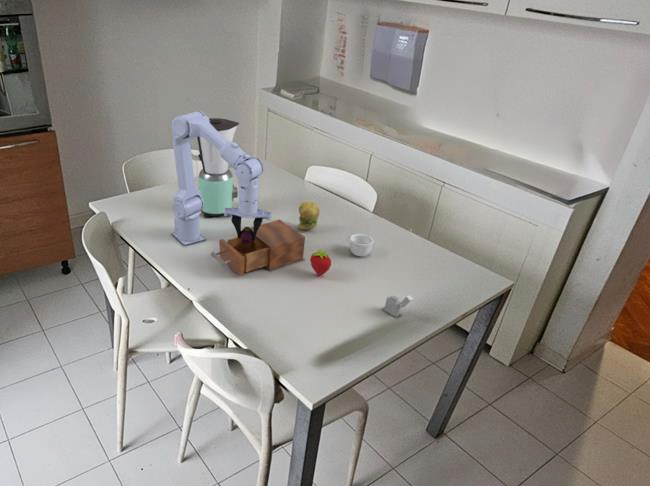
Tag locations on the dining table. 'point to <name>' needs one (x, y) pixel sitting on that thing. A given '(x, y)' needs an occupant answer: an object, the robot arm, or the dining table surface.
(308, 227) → the hamburger
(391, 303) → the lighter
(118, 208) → the dining table surface
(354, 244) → the teacup
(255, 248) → the drawer
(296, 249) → the cabinet
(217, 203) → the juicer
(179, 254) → the dining table surface
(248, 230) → the mangosteen
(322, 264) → the strawberry
